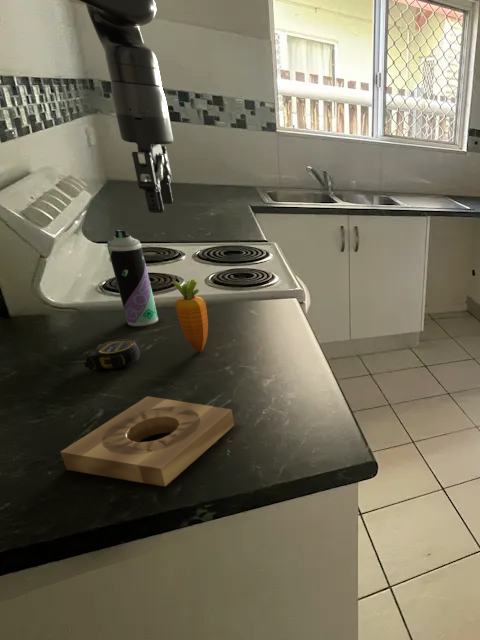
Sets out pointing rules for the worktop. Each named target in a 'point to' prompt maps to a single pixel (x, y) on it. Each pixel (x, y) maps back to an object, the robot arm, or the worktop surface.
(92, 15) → the robot arm
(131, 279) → the spray can
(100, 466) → the socket pad
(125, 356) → the tape measure
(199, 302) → the carrot
